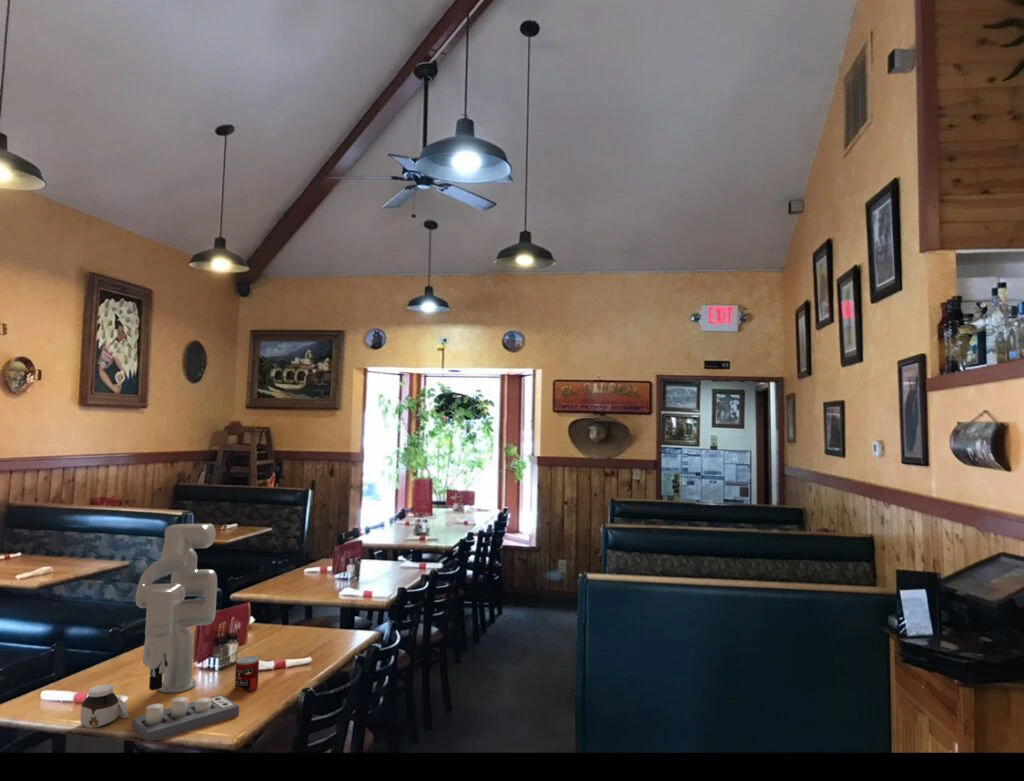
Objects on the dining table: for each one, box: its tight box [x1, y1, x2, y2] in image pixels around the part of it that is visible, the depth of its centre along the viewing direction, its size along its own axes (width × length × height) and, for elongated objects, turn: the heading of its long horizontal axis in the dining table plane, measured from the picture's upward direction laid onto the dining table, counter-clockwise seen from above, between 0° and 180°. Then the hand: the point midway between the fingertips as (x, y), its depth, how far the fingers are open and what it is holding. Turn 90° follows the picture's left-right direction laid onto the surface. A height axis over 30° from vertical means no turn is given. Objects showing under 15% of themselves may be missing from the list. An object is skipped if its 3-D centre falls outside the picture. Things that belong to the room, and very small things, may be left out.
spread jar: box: [79, 684, 130, 729], centre depth 216 cm, size 12×11×12 cm
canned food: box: [234, 655, 260, 693], centre depth 246 cm, size 8×8×11 cm
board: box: [131, 693, 240, 744], centre depth 215 cm, size 14×28×4 cm, turn 137°
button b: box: [170, 696, 189, 719], centre depth 214 cm, size 5×5×5 cm
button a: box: [195, 697, 211, 713], centre depth 219 cm, size 5×5×5 cm
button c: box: [145, 703, 164, 726], centre depth 208 cm, size 5×5×5 cm
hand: (155, 688), depth 209 cm, fingers closed
